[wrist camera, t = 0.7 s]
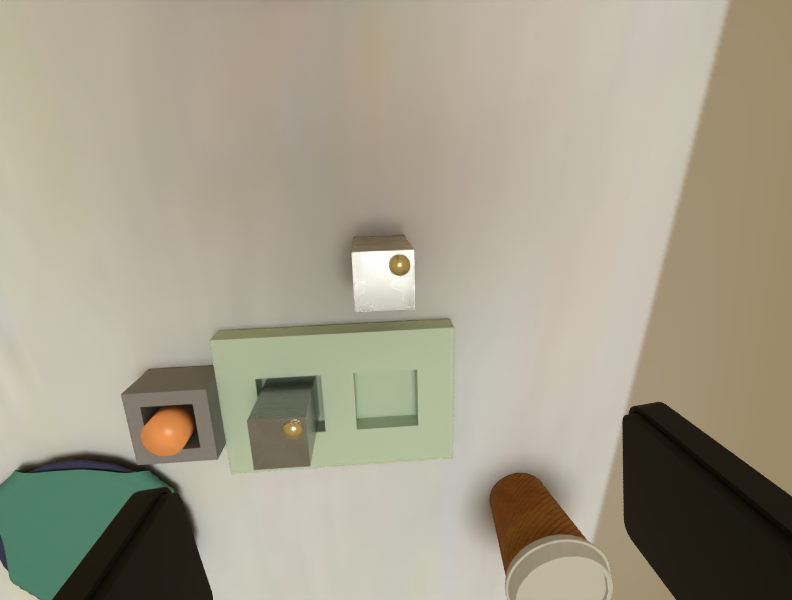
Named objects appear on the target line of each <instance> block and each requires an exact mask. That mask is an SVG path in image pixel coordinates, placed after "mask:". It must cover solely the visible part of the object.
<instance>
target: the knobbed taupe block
mask: <svg viewBox="0 0 792 600" xmlns="http://www.w3.org/2000/svg"><path fill="white" fill-rule="evenodd" d="M352 269H353V286H354V302H355V312H368V311H387V310H407V309H415V278H414V249H413V248H412V246H411V245H410V243H409V242H408V240H407V239H406V237H405V236H404V235H393V236H369V237H354V239H353V246H352Z"/></svg>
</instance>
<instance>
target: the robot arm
mask: <svg viewBox="0 0 792 600" xmlns="http://www.w3.org/2000/svg"><path fill="white" fill-rule="evenodd" d="M622 424H623V488H624V489H623V494H624V523H625V527H626V530H627V533H628V535H629V536H630V538H631V540H632V541H633V543H634V544H635V545H636V546H637V548H638V549H639V551H640V552H641V553H642V554H643V556H644V557H645V559H646V560H647V561H648V563H649V564H650V565H651V567H652V568H653V569H654V571H655V572H656V573H657V574H658V576H659V577H660V578H661V580H662V581H663V583H664V584H665V585H666V587H667V588H668V589H669V591H670V592H671V593H672V595H673V596H674V597H675V599H676V600H792V496H790V495H789V494H788V493H786V492H785V491H784V490H782V489H781V488H779V487H778V486H777V485H775V484H774V483H772V482H771V481H770V480H768V479H767V478H766V477H764V476H763V475H761V474H760V473H759V472H757V471H756V470H755V469H753V468H752V467H750V466H749V465H748V464H747V463H745V462H744V461H742V460H741V459H740V458H738V457H737V456H736V455H734V454H733V453H732V452H730V451H729V450H727V449H726V448H725V447H723V446H722V445H721V444H719V443H718V442H716V441H715V440H714V439H712V438H711V437H710V436H708V435H707V434H706V433H704V432H703V431H701V430H700V429H699V428H697V427H696V426H694V425H693V424H692V423H690V422H689V421H688V420H686V419H685V418H684V417H682V416H681V415H680V414H678V413H677V412H675V411H674V410H673V409H671V408H670V407H669V406H667V405H666V404H664V403H662V402H655V403H650V404H644V405H638V406H633V407H631V408H630V411H629V414H628V415H625V416H624V417H623V422H622ZM52 600H213V595H212V591H211V588H210V585H209V582H208V579H207V576H206V573H205V570H204V567H203V564H202V561H201V558H200V555H199V552H198V549H197V546H196V543H195V540H194V537H193V534H192V531H191V528H190V525H189V522H188V519H187V516H186V513H185V510H184V507H183V504H182V501H181V498H180V496H179V495H178V494H177V493H175V492H174V493H172V492H171V490H170V489H169V488H168V487H159V488H153V489H148V490H142V491H137V492H135V493H133V494H132V495H131V496H130V498H129V499H128V500H127V502H126V503H125V504H124V506H123V507H122V508H121V510H120V511H119V512H118V514H117V515H116V516H115V517H114V519H113V520H112V521H111V523H110V524H109V525H108V527H107V528H106V529H105V531H104V532H103V533H102V535H101V536H100V537H99V539H98V540H97V541H96V542H95V544H94V545H93V546H92V548H91V549H90V550H89V552H88V553H87V554H86V556H85V557H84V558H83V560H82V561H81V562H80V563H79V565H78V566H77V567H76V569H75V570H74V571H73V573H72V574H71V575H70V577H69V578H68V579H67V581H66V582H65V583H64V584H63V586H62V587H61V588H60V590H59V591H58V592H57V594H56V595H55V596H54V598H53V599H52Z"/></svg>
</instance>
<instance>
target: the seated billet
mask: <svg viewBox="0 0 792 600" xmlns="http://www.w3.org/2000/svg"><path fill="white" fill-rule="evenodd" d="M319 417H320V411H319V400H318V389H317V378H316V375H315V376H298V377H281V378H267V379H266V382H265V384H264V386H263V388H262V390H261V392H260V394H259V396H258V398H257V401H256V403H255V405H254V407H253V409H252V411H251V413H250V415H249V417H248V419H247V426H248V432H249V439H250V446H251V453H252V460H253V467H254V470H264V469H278V468H292V467H306V466H311V460H312V455H313V449H314V444H315V438H316V433H317V428H318V422H319Z"/></svg>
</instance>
